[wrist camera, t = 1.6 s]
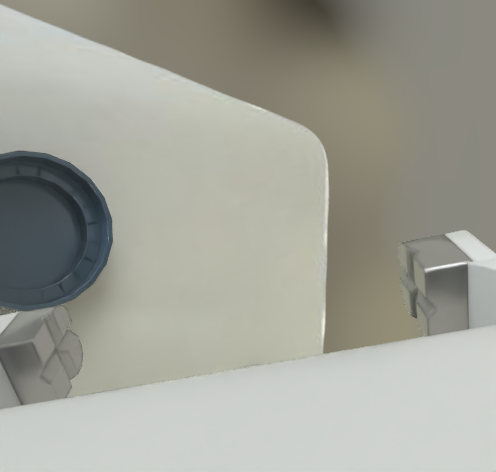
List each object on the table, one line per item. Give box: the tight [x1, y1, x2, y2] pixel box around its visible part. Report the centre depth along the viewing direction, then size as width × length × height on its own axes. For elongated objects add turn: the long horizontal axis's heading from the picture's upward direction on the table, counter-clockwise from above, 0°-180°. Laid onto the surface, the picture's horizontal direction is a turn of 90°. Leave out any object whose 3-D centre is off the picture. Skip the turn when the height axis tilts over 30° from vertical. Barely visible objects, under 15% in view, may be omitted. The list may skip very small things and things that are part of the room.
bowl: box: [0, 151, 113, 311], centre depth 46 cm, size 15×15×5 cm
